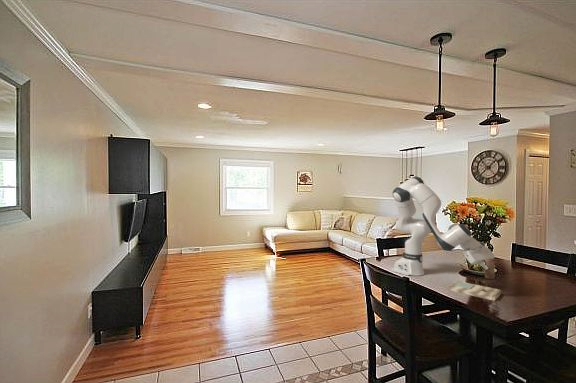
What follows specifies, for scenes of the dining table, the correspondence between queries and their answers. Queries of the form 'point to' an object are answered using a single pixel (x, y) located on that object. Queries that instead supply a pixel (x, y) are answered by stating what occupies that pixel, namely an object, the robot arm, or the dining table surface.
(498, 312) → the dining table surface
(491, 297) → the puzzle board
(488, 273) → the wooden cylinder
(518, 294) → the dining table surface
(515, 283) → the dining table surface
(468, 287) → the felt pad
